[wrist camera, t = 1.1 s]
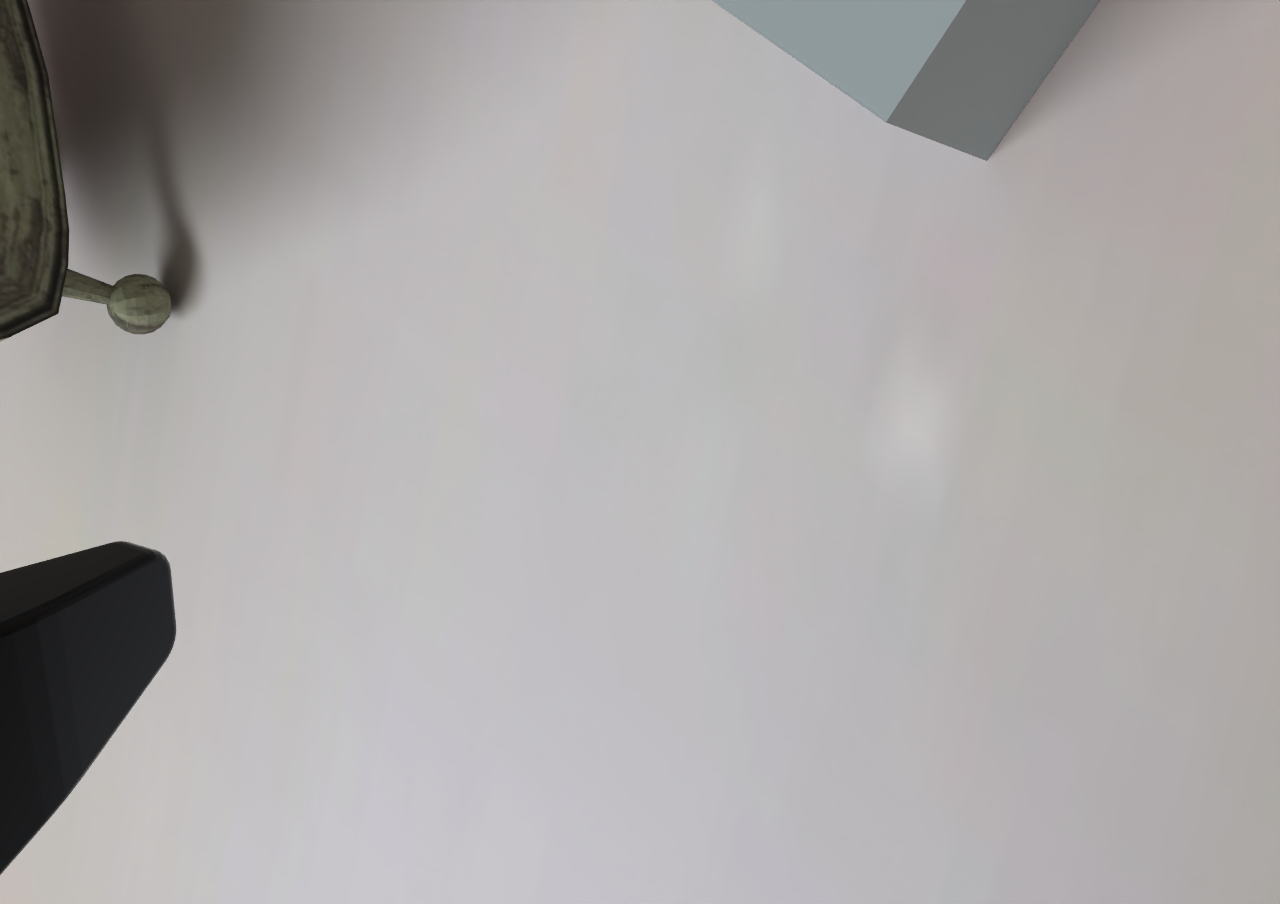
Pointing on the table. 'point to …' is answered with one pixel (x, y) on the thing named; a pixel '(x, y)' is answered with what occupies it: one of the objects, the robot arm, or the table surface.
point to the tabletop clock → (46, 202)
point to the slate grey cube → (926, 56)
